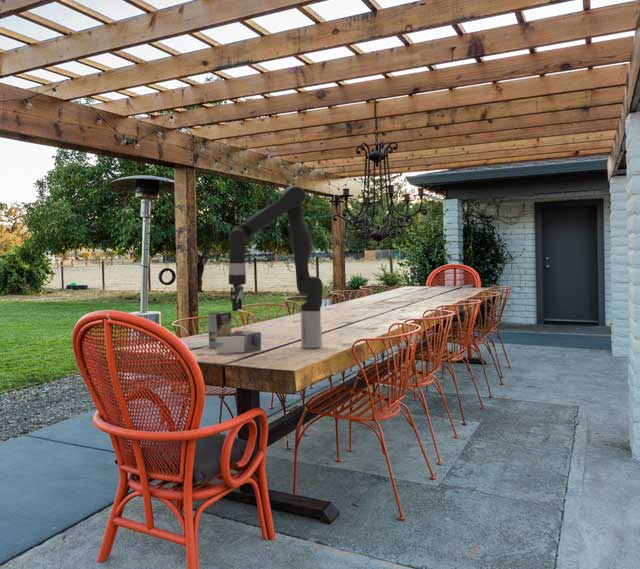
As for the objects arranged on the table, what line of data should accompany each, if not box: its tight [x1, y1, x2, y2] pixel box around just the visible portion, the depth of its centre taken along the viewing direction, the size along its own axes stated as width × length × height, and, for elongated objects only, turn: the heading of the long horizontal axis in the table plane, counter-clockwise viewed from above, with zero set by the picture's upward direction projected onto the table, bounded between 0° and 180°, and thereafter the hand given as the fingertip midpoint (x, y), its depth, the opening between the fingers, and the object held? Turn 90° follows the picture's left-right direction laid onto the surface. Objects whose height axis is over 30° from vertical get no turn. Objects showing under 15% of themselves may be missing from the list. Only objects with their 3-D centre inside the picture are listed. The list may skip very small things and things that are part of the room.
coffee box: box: [208, 311, 232, 349], centre depth 266 cm, size 9×6×16 cm
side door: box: [216, 336, 248, 354], centre depth 248 cm, size 2×13×7 cm, turn 96°
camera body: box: [230, 330, 262, 353], centre depth 256 cm, size 10×11×9 cm
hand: (237, 310), depth 249 cm, fingers open, 8 cm apart
